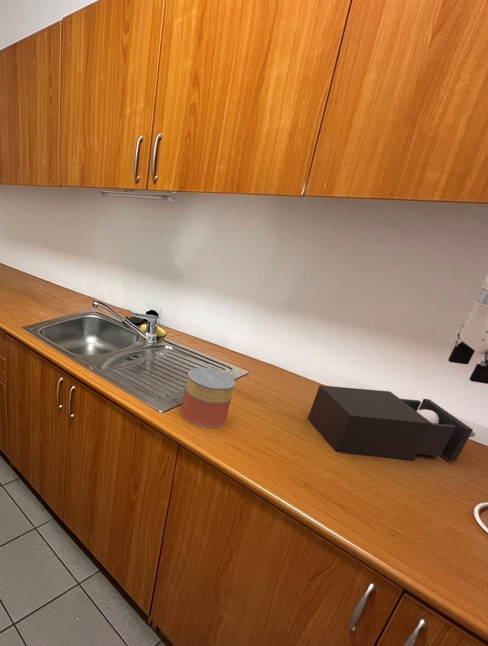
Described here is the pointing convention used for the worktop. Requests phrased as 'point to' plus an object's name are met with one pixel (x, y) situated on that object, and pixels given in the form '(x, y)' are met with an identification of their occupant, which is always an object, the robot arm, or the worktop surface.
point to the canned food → (207, 396)
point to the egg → (429, 415)
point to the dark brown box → (368, 422)
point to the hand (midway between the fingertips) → (468, 372)
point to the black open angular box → (442, 432)
